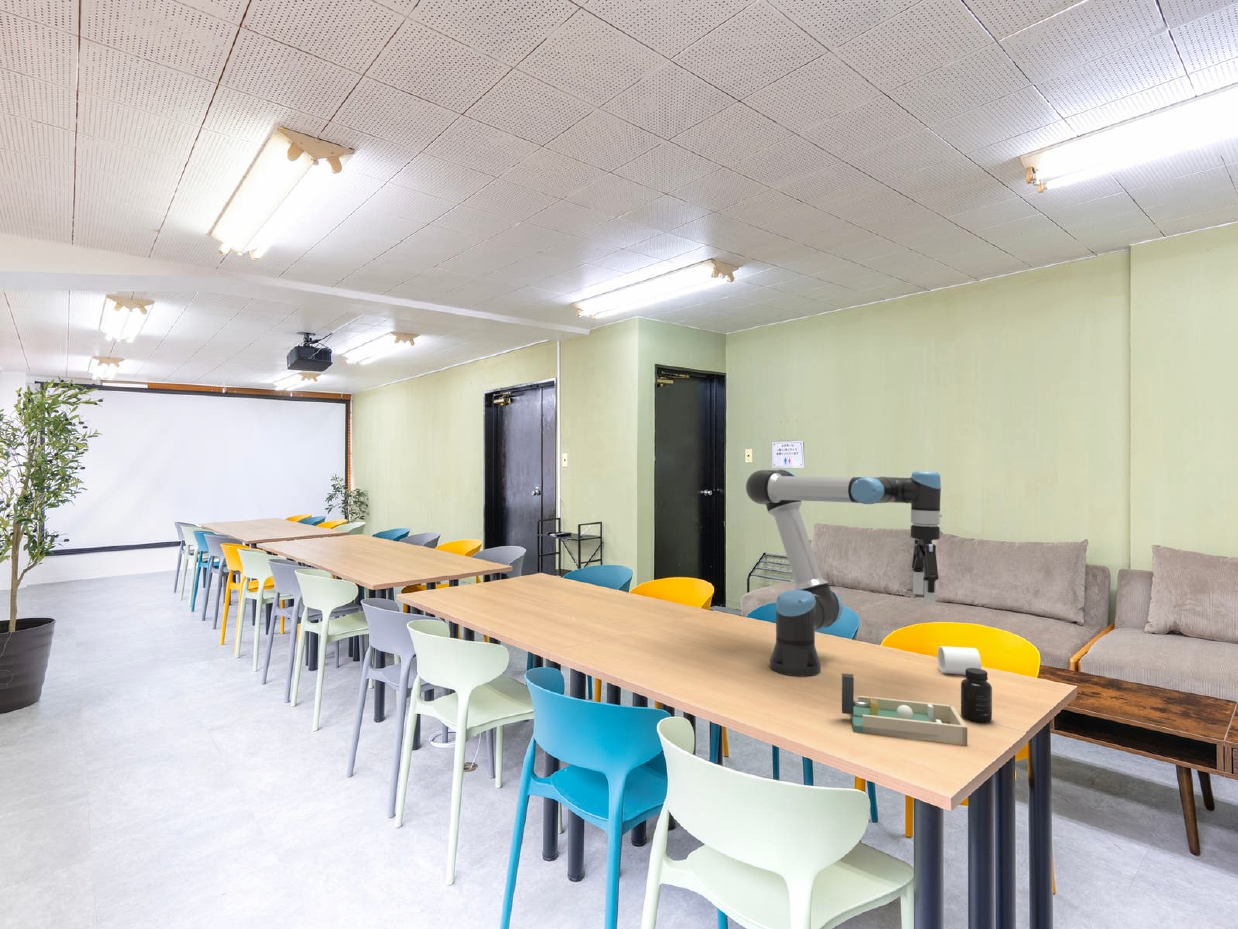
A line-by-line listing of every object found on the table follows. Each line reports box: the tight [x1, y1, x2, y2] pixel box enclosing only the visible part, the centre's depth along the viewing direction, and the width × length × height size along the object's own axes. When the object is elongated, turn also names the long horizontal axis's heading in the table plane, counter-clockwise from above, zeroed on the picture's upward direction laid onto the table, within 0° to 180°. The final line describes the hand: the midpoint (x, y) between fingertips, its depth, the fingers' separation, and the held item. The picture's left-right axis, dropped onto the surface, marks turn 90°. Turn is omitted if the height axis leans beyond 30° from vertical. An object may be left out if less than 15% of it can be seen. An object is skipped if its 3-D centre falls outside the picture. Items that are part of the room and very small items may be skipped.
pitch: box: [850, 695, 968, 746], centre depth 151 cm, size 24×14×4 cm, turn 74°
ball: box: [897, 705, 913, 720], centre depth 151 cm, size 4×4×4 cm
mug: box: [937, 645, 982, 676], centre depth 194 cm, size 12×10×8 cm
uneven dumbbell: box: [841, 673, 878, 716], centre depth 154 cm, size 8×4×9 cm, turn 73°
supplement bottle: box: [960, 668, 993, 724], centre depth 157 cm, size 7×7×12 cm
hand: (923, 599), depth 180 cm, fingers open, 13 cm apart
